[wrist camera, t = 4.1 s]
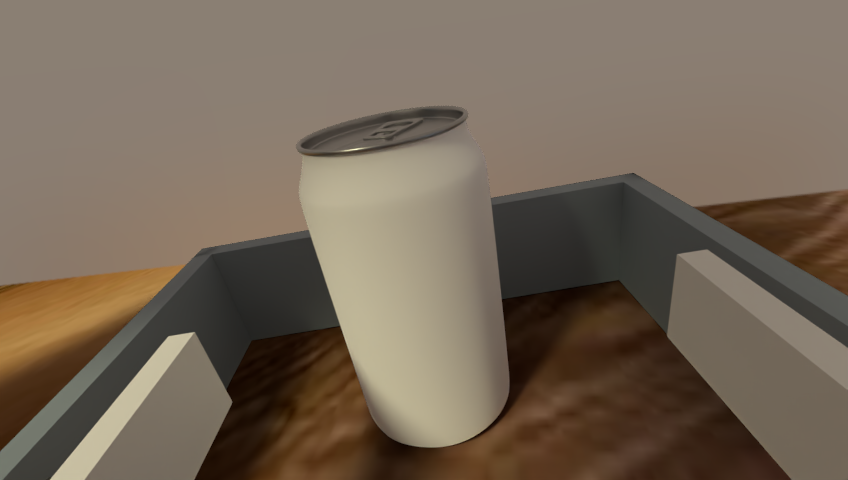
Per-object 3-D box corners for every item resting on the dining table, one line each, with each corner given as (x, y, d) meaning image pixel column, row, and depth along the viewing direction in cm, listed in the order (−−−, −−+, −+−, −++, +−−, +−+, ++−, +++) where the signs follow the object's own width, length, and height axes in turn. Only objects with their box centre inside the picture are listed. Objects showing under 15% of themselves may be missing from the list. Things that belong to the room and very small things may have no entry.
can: (342, 434, 17) (236, 161, 12) (405, 334, 22) (351, 113, 17) (490, 475, 14) (439, 147, 9) (523, 350, 20) (502, 95, 14)
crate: (867, 513, 12) (951, 356, 9) (76, 621, 13) (-58, 508, 10) (627, 268, 24) (633, 172, 21) (241, 332, 25) (202, 248, 22)
